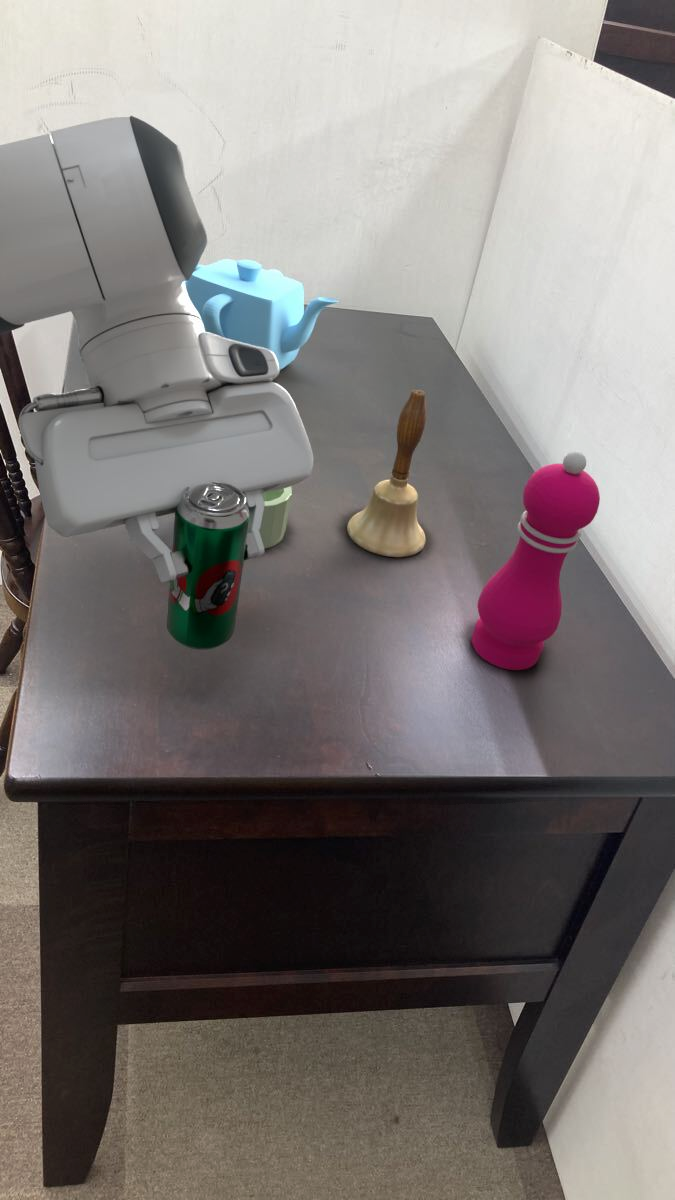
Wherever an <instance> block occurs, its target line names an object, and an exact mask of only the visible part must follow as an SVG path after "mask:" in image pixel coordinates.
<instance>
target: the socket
mask: <svg viewBox="0 0 675 1200" xmlns="http://www.w3.org/2000/svg"><path fill="white" fill-rule="evenodd" d="M292 486H293V485H292ZM292 486H290V487H287V488H282V489H278V490H274V491H269V492H265V493H262V497H263V500H264V503H265V506H264V511H263V516H262V522H261V527H260V530H259V533H260V536H261V539H262V542H263V546H264V550H266V549H269V548H272V547H274V546H276V545H278V544H279V543H280V542H281V541H282V540H283V539H284V538H285V534H286V531H287V527H288V521H289V520H288V519H289V514H290V508H291V502H292V495H293V487H292Z"/></svg>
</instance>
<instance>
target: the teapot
mask: <svg viewBox="0 0 675 1200" xmlns="http://www.w3.org/2000/svg"><path fill="white" fill-rule="evenodd" d="M262 267H263V266H262V264H260V262H259V263H258V262H257V261H254V260H250V259H241V260H237V261H236V260H233V259H229V258H223V259H221V260H218V261H215V262H212V263H209V264H208V265H204V264H203V265H202V264H197V266H196V268H195V270H194V272H193V274H192V276H191V277H190V279H189V280H188V281H187V280H186V281H185V285H186V290H187V293H188V296H189V298H190V300H191V302H192V304H193V306H194V307H195V309H196V310H197V312H198V313H199V315H200V317H201V319H202V322H203V325H204V328H205V331H206V332H209V333H213V334H216V335H218V336H221V337H224V338H227V339H231V340H234V341H238V342H242V343H245V344H250V345H254V346H258V347H262V348H266V349H269V350H271V351H272V352H273V353H274V354H275V356H276V358H277V361H278V364H279V369H280V371H281V370H283V369H284V368H285V367H286V366H288V365H289V364H291V363H292V362H293V361H294V360H295V359H296V358H297V356H298V354H299V351H300V348H301V347H303V346H304V345H305V344H306V343H307V342H308V340H309V338H310V337H311V335H312V332H313V330H314V328H315V324H316V322H317V319H318V317H319V315H320V313H321V312H322V310H323V309H325V308H326V307H328V306H330V305H333V304H337V303H339V300H338V299H334V298H330V297H324V296H323V297H322V296H321V297H316V298H314V299H312V300H311V301H310V302H309V303H308V304H307V306H306V307H305V294H304V293H305V291H304V284H303V283H302V282H300V281H299V280H296V279H293V278H290V277H287V276H285V275H283V273H282V271H280V270H278V269H269V270H267V269H264V268H262Z"/></svg>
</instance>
